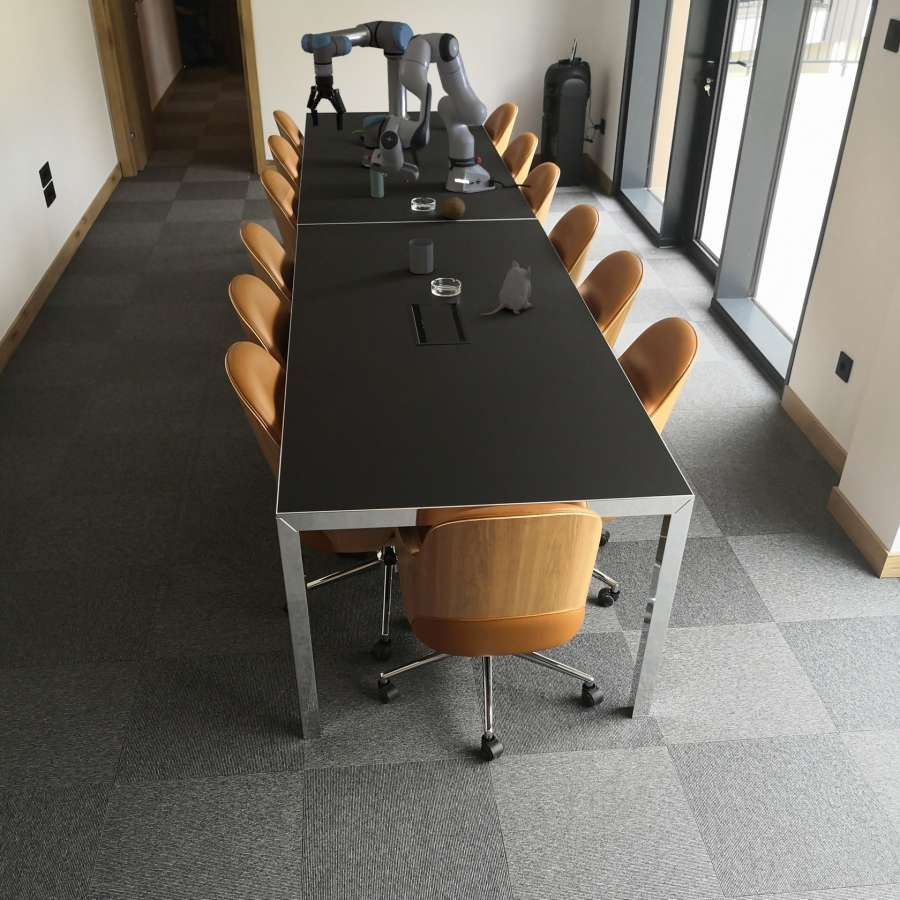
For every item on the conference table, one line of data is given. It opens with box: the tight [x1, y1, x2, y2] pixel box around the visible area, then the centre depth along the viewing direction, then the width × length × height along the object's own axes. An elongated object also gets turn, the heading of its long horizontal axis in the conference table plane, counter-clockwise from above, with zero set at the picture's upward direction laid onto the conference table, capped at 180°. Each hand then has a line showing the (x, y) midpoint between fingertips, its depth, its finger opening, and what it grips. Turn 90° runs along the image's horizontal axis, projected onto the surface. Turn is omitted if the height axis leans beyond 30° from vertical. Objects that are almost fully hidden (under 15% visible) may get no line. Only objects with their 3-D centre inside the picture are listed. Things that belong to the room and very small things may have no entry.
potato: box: [441, 196, 466, 220], centre depth 355 cm, size 10×14×8 cm
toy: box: [481, 259, 533, 316], centre depth 272 cm, size 9×24×15 cm, turn 137°
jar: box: [369, 162, 385, 199], centre depth 380 cm, size 6×6×17 cm
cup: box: [408, 237, 434, 275], centre depth 305 cm, size 8×8×10 cm
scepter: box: [349, 129, 365, 146], centre depth 465 cm, size 6×13×30 cm
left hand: (327, 128), depth 372 cm, fingers open, 13 cm apart
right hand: (395, 178), depth 363 cm, fingers open, 8 cm apart
